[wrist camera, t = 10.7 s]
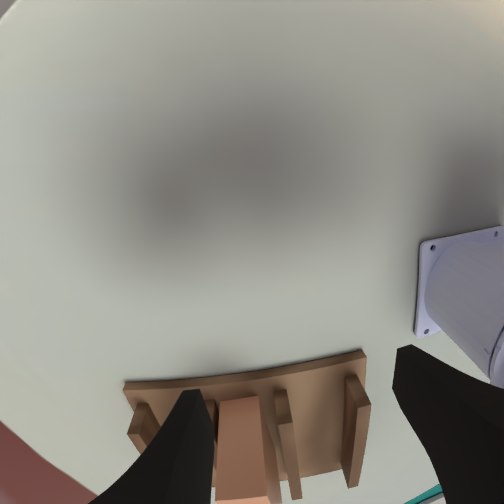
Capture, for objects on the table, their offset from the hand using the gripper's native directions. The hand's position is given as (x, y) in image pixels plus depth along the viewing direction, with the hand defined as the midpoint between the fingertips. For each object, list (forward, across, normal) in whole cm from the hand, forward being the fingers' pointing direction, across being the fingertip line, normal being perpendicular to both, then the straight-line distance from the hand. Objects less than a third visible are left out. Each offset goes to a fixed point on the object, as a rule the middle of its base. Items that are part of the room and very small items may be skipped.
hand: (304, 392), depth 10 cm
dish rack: (+10, +3, +15) cm, 19 cm away
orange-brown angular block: (+9, +4, +13) cm, 16 cm away
